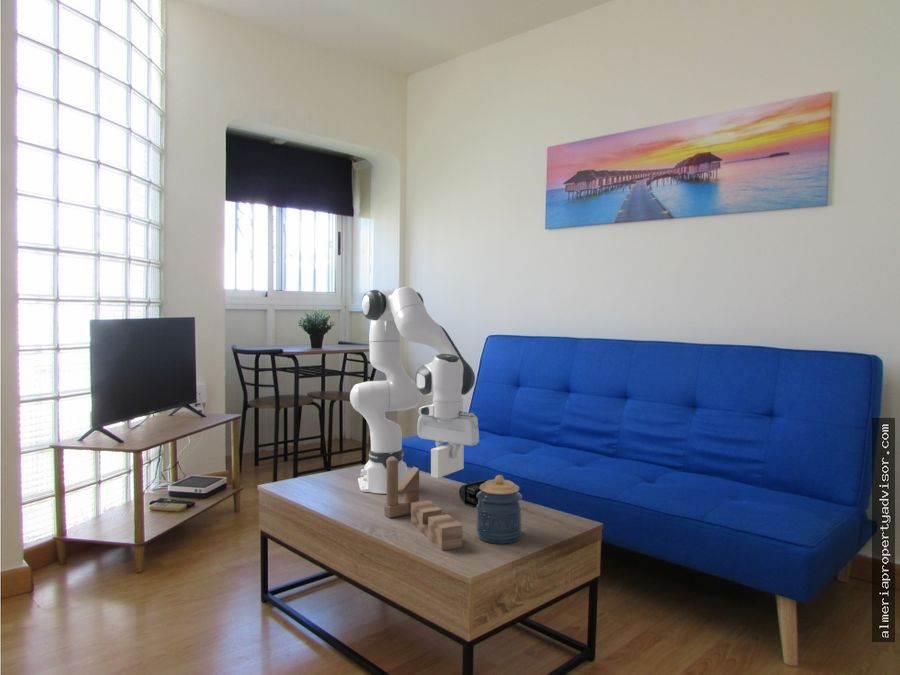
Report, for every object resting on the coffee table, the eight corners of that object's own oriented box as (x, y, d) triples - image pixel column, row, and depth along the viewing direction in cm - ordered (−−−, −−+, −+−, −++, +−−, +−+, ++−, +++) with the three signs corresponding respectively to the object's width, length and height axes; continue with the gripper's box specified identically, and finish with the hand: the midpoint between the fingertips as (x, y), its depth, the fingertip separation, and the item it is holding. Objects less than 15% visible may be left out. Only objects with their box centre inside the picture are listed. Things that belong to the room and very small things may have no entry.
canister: (468, 531, 181) (468, 472, 180) (507, 525, 186) (508, 467, 185) (489, 547, 169) (489, 483, 168) (530, 540, 174) (530, 478, 173)
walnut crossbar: (410, 521, 189) (410, 502, 188) (429, 519, 191) (429, 500, 191) (441, 550, 167) (441, 528, 166) (462, 547, 169) (462, 525, 169)
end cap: (480, 497, 214) (480, 477, 213) (495, 502, 208) (495, 482, 208) (458, 503, 207) (458, 483, 207) (473, 508, 202) (473, 487, 201)
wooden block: (419, 512, 197) (419, 456, 196) (389, 518, 191) (389, 461, 190) (413, 509, 200) (413, 454, 199) (384, 515, 194) (383, 458, 194)
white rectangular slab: (456, 467, 188) (456, 441, 188) (463, 468, 186) (463, 442, 186) (431, 476, 177) (430, 449, 177) (438, 478, 176) (438, 450, 176)
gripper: (483, 411, 178) (483, 459, 178) (427, 405, 190) (427, 450, 190) (471, 414, 173) (471, 464, 173) (414, 408, 184) (414, 454, 185)
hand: (447, 456), depth 182 cm, fingers closed on white rectangular slab, 2 cm apart
